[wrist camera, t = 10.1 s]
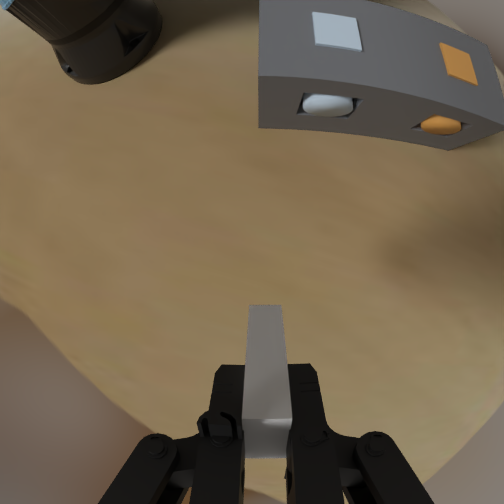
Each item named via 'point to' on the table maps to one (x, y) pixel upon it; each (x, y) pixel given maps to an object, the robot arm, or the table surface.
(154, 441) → the robot arm
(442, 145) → the button console
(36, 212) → the table surface
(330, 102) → the pale blue button
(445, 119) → the orange button
